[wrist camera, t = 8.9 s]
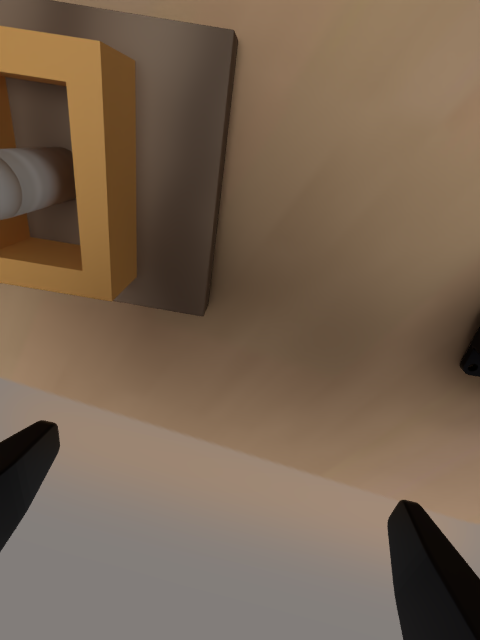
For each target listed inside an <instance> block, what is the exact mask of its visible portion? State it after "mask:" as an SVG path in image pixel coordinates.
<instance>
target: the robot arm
mask: <svg viewBox="0 0 480 640" xmlns="http://www.w3.org/2000/svg"><path fill="white" fill-rule="evenodd" d="M471 364H474V365H473V366H471V367H469V366H470V365H471ZM460 367H461V369H462V370H463V371H464V372H465V373H466V374H468V375H473V376H479V377H480V327H479V329H478V331H477V332H476V334H475V336H474V338H473V340H472V341H471V344H470V346H469V348H468V350H467V352H466V353H465V355H464V357H463V359H462V361H461V363H460ZM59 447H60V442H59V433H58V426H57V424H55V423H53V422H48V421H42V420H41V421H38V422H36V423H34V424H32V425H30V426H29V427H27V428H25V429H23V430H21V431H20V432H18V433H16V434H14V435H12V436H11V437H9V438H7V439H5V440H3V441H2V442H0V551H1V550H2V549H3V547H4V546H5V544H6V542H7V541H8V539H9V538H10V536H11V535H12V533H13V532H14V530H15V529H16V527H17V526H18V524H19V522H20V521H21V520H22V518H23V516H24V515H25V513H26V512H27V510H28V508H29V506H30V505H31V503H32V501H33V499H34V497H35V495H36V493H37V492H38V490H39V488H40V486H41V484H42V482H43V480H44V478H45V476H46V475H47V473H48V470H49V469H50V467H51V465H52V463H53V461H54V459H55V457H56V455H57V454H58V451H59ZM388 536H389V546H390V556H391V566H392V575H393V585H394V593H395V599H396V605H397V610H398V615H399V620H400V625H401V630H402V635H403V640H480V579H479V578H478V576H477V575H476V574H475V573H474V571H473V570H472V569H471V568H470V567H469V565H468V564H467V563H466V561H465V560H464V559H463V558H462V556H461V555H460V554H459V553H458V551H457V550H456V549H455V548H454V547H453V545H452V544H451V543H450V542H449V540H448V539H447V538H446V536H445V535H444V534H443V533H442V532H441V530H440V529H439V528H438V527H437V525H436V524H435V523H434V522H433V520H432V519H431V518H430V517H429V515H428V514H427V513H426V512H425V510H424V509H423V508H422V507H421V506H420V505H419V504H418V503H416V502H412V501H407V500H401V501H399V503H398V504H397V506H396V507H395V509H394V510H393V512H392V514H391V515H390V517H389V519H388Z"/></svg>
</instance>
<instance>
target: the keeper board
mask: <svg viewBox="0 0 480 640" xmlns="http://www.w3.org/2000/svg"><path fill="white" fill-rule="evenodd" d="M0 26H5V27H12V28H18V29H25V30H31V31H38V32H44V33H51V34H58V35H64V36H71V37H77V38H84V39H90V40H97V41H101V42H103V43H104V44H106V45H108V46H110V47H112V48H113V49H115V50H117V51H119V52H121V53H122V54H124V55H126V56H128V57H130V58H131V59H133V60H135V96H136V235H137V277H136V278H135V279H134V280H133V281H132V282H131V283H130V284H129V285H128V286H127V287H126V288H125V289H124V290H123V291H122V292H121V293H120V294H119V295H118V296H117V297H116V298H115V299H114V300H113V301H117V302H123V303H129V304H134V305H140V306H146V307H151V308H157V309H163V310H169V311H174V312H180V313H186V314H192V315H197V316H204V314H205V311H206V309H207V306H208V302H209V294H210V285H211V276H212V267H213V258H214V249H215V240H216V232H217V223H218V214H219V205H220V196H221V187H222V178H223V170H224V161H225V152H226V143H227V134H228V125H229V116H230V108H231V99H232V90H233V81H234V72H235V63H236V54H237V46H238V39H237V37H236V34H235V31H234V30H230V29H224V28H218V27H212V26H206V25H199V24H193V23H187V22H181V21H175V20H169V19H162V18H156V17H150V16H144V15H138V14H132V13H125V12H119V11H113V10H107V9H101V8H95V7H88V6H82V5H76V4H70V3H64V2H58V1H51V0H0ZM5 79H6V86H7V92H8V98H9V105H10V111H11V117H12V124H13V130H14V137H15V143H16V148H9V149H0V220H3V219H8V218H12V217H15V216H18V215H22V214H25V213H27V219H28V226H29V232H30V237H34V238H40V239H46V240H52V241H58V242H64V243H70V244H76V245H80V235H79V223H78V212H77V201H76V189H75V178H74V166H73V155H72V143H71V132H70V121H69V109H68V98H67V87H66V86H60V85H54V84H47V83H41V82H35V81H28V80H22V79H15V78H9V77H5Z"/></svg>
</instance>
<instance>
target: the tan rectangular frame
mask: <svg viewBox="0 0 480 640" xmlns="http://www.w3.org/2000/svg"><path fill="white" fill-rule="evenodd" d="M5 77H9V78H15V79H22V80H28V81H35V82H41V83H47V84H54V85H60V86H66V87H67V98H68V109H69V121H70V132H71V143H72V155H73V166H74V178H75V189H76V201H77V212H78V223H79V235H80V245H76V244H70V243H64V242H58V241H52V240H46V239H40V238H34V237H30V232H29V226H28V219H27V213H25V214H22V215H18V216H15V217H12V218H8V219H3V220H0V283H4V284H10V285H16V286H22V287H28V288H34V289H40V290H46V291H52V292H58V293H64V294H70V295H76V296H82V297H88V298H94V299H100V300H106V301H113V300H114V299H115V298H116V297H117V296H118V295H119V294H120V293H121V292H122V291H123V290H124V289H125V288H126V287H127V286H128V285H129V284H130V283H131V282H132V281H133V280H134V279H135V278H136V277H137V235H136V96H135V60H133V59H131V58H130V57H128V56H126V55H124V54H122V53H121V52H119V51H117V50H115V49H113V48H112V47H110V46H108V45H106V44H104V43H103V42H101V41H97V40H90V39H84V38H77V37H71V36H64V35H58V34H51V33H44V32H38V31H31V30H25V29H18V28H12V27H5V26H0V149H9V148H16V143H15V137H14V130H13V124H12V117H11V111H10V105H9V98H8V92H7V86H6V79H5Z"/></svg>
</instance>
